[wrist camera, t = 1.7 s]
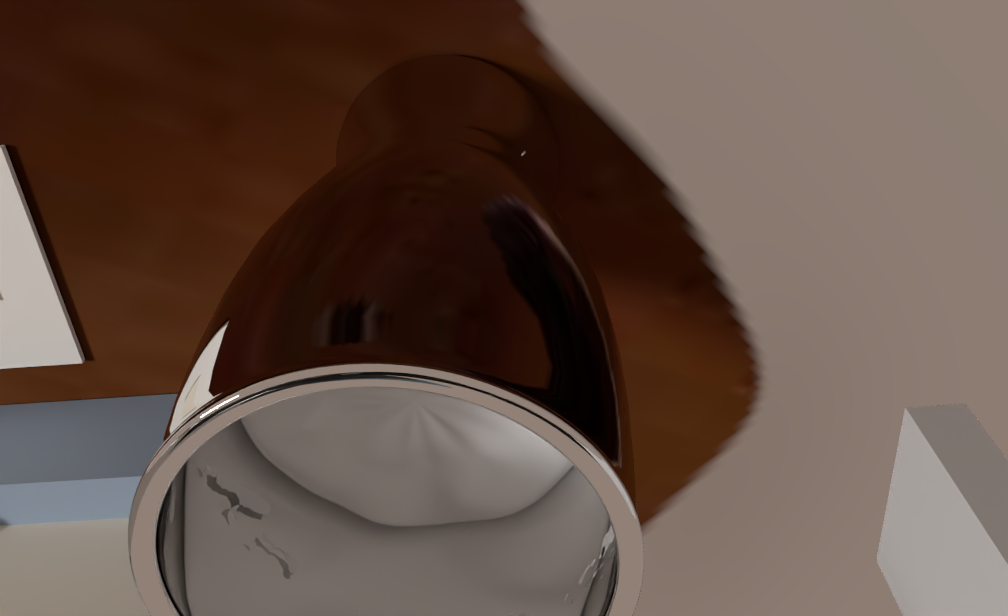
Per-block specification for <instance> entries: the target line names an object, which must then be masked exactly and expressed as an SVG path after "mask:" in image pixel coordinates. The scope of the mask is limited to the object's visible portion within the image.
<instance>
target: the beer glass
mask: <svg viewBox="0 0 1008 616" xmlns="http://www.w3.org/2000/svg"><path fill="white" fill-rule="evenodd" d="M558 179H559V153H558V146H557V141H556V137H555V134H554V131H553V128H552V126H551V123H550V121H549V119H548V117H547V115H546V113H545V111H544V110H543V108H542V106H541V105H540V103H539V102H538V101H537V99H536V98H535V97H534V96H533V94H532V93H531V92H530V91H529V90H528V89H527V88H526V87H525V86H524V85H523V84H521V83H520V82H519V81H518V80H517V79H515V78H514V77H513V76H511V75H510V74H508V73H506V72H505V71H503V70H501V69H499V68H498V67H495V66H493V65H491V64H489V63H486V62H483V61H481V60H477V59H474V58H470V57H465V56H458V55H431V56H425V57H420V58H416V59H412V60H409V61H406V62H403V63H401V64H398V65H396V66H394V67H392V68H390V69H389V70H387V71H385V72H384V73H382V74H381V75H379V76H378V77H377V78H375V79H374V80H373V81H372V82H371V83H369V84H368V85H367V86H366V87H365V88H364V89H363V90H362V92H361V93H360V94H359V95H358V97H357V98H356V99H355V101H354V102H353V104H352V105H351V107H350V109H349V111H348V112H347V115H346V117H345V119H344V121H343V124H342V127H341V130H340V133H339V137H338V142H337V149H336V166H335V167H334V168H333V169H332V170H330V171H329V172H328V173H327V174H326V175H324V176H323V177H322V178H321V179H320V180H318V181H317V182H316V183H315V184H314V185H312V186H311V187H310V188H309V189H308V190H306V191H305V192H304V193H303V194H302V195H301V196H300V197H299V198H298V199H297V200H296V201H295V202H294V203H293V204H292V205H291V206H290V207H289V208H288V209H287V210H286V211H285V212H284V213H283V214H282V215H281V216H280V217H279V218H278V219H277V221H276V222H275V223H274V224H273V225H272V226H271V227H270V228H269V229H268V230H267V231H266V232H265V233H264V235H263V236H262V237H261V238H260V240H259V241H258V242H257V244H256V245H255V246H254V248H253V249H252V251H251V252H250V254H249V255H248V257H247V259H246V260H245V262H244V263H243V265H242V266H241V268H240V269H239V271H238V272H237V274H236V275H235V277H234V278H233V280H232V281H231V283H230V285H229V286H228V288H227V289H226V291H225V293H224V294H223V296H222V298H221V300H220V302H219V304H218V306H217V308H216V310H215V312H214V314H213V316H212V318H211V320H210V322H209V324H208V326H207V328H206V330H205V332H204V334H203V336H202V338H201V340H200V342H199V344H198V347H197V349H196V351H195V353H194V356H193V358H192V361H191V363H190V366H189V368H188V370H187V373H186V375H185V378H184V380H183V383H182V385H181V387H180V390H179V392H178V395H177V397H176V400H175V402H174V405H173V408H172V410H171V413H170V416H169V418H168V421H167V424H166V427H165V429H164V432H163V435H162V437H161V440H160V442H159V445H158V447H157V450H156V452H155V454H154V456H153V458H152V459H151V461H150V463H149V464H148V466H147V468H146V469H145V471H144V473H143V475H142V477H141V479H140V482H139V484H138V486H137V489H136V492H135V495H134V498H133V502H132V505H131V510H130V515H129V522H128V554H129V561H130V566H131V571H132V575H133V578H134V581H135V584H136V587H137V590H138V592H139V595H140V597H141V599H142V601H143V603H144V606H145V608H146V610H147V611H148V613H149V615H150V616H633V614H634V611H635V608H636V606H637V603H638V600H639V596H640V592H641V587H642V582H643V574H644V545H643V538H642V532H641V527H640V523H639V520H638V516H637V505H636V491H635V474H634V458H633V447H632V436H631V426H630V415H629V405H628V399H627V393H626V387H625V380H624V374H623V368H622V362H621V356H620V351H619V346H618V343H617V339H616V335H615V332H614V328H613V325H612V321H611V318H610V314H609V311H608V307H607V303H606V300H605V297H604V294H603V291H602V288H601V286H600V283H599V281H598V279H597V277H596V275H595V273H594V270H593V268H592V266H591V264H590V262H589V260H588V258H587V256H586V254H585V252H584V250H583V248H582V246H581V244H580V242H579V240H578V238H577V237H576V235H575V233H574V232H573V230H572V228H571V227H570V225H569V224H568V222H567V220H566V219H565V217H564V216H563V214H562V213H561V211H560V209H559V208H558V206H557V205H556V203H555V202H554V198H555V194H556V190H557V185H558Z"/></svg>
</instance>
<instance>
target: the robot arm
mask: <svg viewBox="0 0 1008 616" xmlns="http://www.w3.org/2000/svg"><path fill="white" fill-rule="evenodd" d="M877 562H878V564H879V567H880V569H881V571H882V573H883V575H884V577H885V579H886V581H887V583H888V585H889V587H890V589H891V591H892V594H893V596H894V598H895V600H896V602H897V604H898V606H899V608H900V610H901V612H902V614H903V616H1008V459H1007V458H1006V457H1005V456H1004V454H1003V453H1002V452H1001V450H1000V449H999V448H998V446H997V445H996V444H995V442H994V441H993V440H992V438H991V437H990V436H989V434H988V433H987V432H986V430H985V429H984V428H983V426H982V425H981V424H980V422H979V421H978V420H977V418H976V417H975V416H974V414H973V413H972V412H971V410H970V409H969V408H968V406H967V405H966V404H956V405H955V404H954V405H936V406H918V407H905V411H904V417H903V422H902V428H901V433H900V439H899V443H898V449H897V454H896V459H895V464H894V470H893V475H892V480H891V486H890V491H889V497H888V502H887V507H886V513H885V518H884V523H883V529H882V534H881V540H880V544H879V549H878V556H877ZM0 603H1V602H0Z"/></svg>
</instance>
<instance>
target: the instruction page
mask: <svg viewBox="0 0 1008 616" xmlns="http://www.w3.org/2000/svg"><path fill="white" fill-rule="evenodd" d="M84 361H85V357H84V355H83V352H82V349H81V347H80V344H79V341H78V339H77V336H76V333H75V331H74V328H73V325H72V323H71V320H70V317H69V315H68V312H67V309H66V307H65V304H64V301H63V299H62V296H61V294H60V291H59V288H58V286H57V283H56V280H55V278H54V275H53V272H52V270H51V267H50V264H49V262H48V259H47V256H46V254H45V251H44V248H43V246H42V243H41V240H40V238H39V235H38V232H37V230H36V227H35V224H34V222H33V219H32V216H31V214H30V211H29V208H28V206H27V203H26V200H25V198H24V195H23V192H22V190H21V187H20V184H19V182H18V179H17V176H16V174H15V171H14V168H13V166H12V163H11V160H10V158H9V155H8V152H7V150H6V147H5V145H0V369H4V368H19V367H33V366H48V365H63V364H78V363H83V362H84Z"/></svg>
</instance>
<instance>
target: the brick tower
mask: <svg viewBox="0 0 1008 616" xmlns="http://www.w3.org/2000/svg"><path fill="white" fill-rule="evenodd" d="M177 395H178V394H165V395H150V396H134V397H119V398H104V399H89V400H74V401H58V402H43V403H28V404H13V405H0V602H1V603H0V616H150V615H149V613H148V611H147V610H146V608H145V606H144V603H143V601H142V599H141V597H140V595H139V592H138V590H137V587H136V584H135V581H134V578H133V575H132V571H131V566H130V561H129V554H128V522H129V515H130V510H131V505H132V502H133V498H134V495H135V492H136V489H137V486H138V484H139V482H140V479H141V477H142V475H143V473H144V471H145V469H146V468H147V466H148V464H149V463H150V461H151V459H152V458H153V456H154V454H155V452H156V450H157V447H158V445H159V442H160V440H161V437H162V435H163V432H164V429H165V427H166V424H167V421H168V418H169V416H170V413H171V410H172V408H173V405H174V402H175V400H176V397H177Z"/></svg>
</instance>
